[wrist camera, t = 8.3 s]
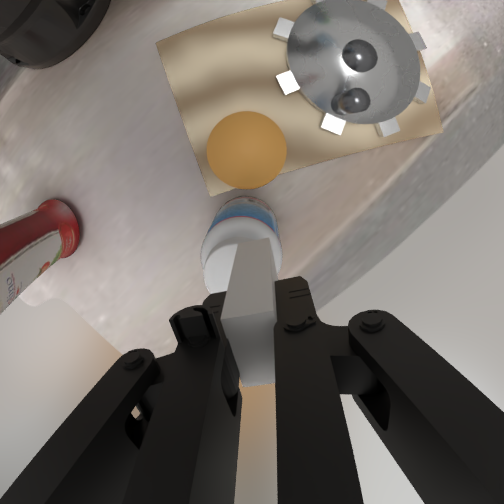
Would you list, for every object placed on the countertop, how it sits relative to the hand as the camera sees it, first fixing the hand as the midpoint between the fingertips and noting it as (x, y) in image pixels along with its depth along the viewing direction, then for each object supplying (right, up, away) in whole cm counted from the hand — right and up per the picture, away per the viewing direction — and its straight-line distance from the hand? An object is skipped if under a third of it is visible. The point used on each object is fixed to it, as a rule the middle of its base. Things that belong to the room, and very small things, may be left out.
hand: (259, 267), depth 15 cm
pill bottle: (-1, +3, +16) cm, 16 cm away
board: (+5, +17, +10) cm, 20 cm away
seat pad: (-1, +10, +12) cm, 15 cm away
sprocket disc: (+9, +18, +8) cm, 22 cm away
